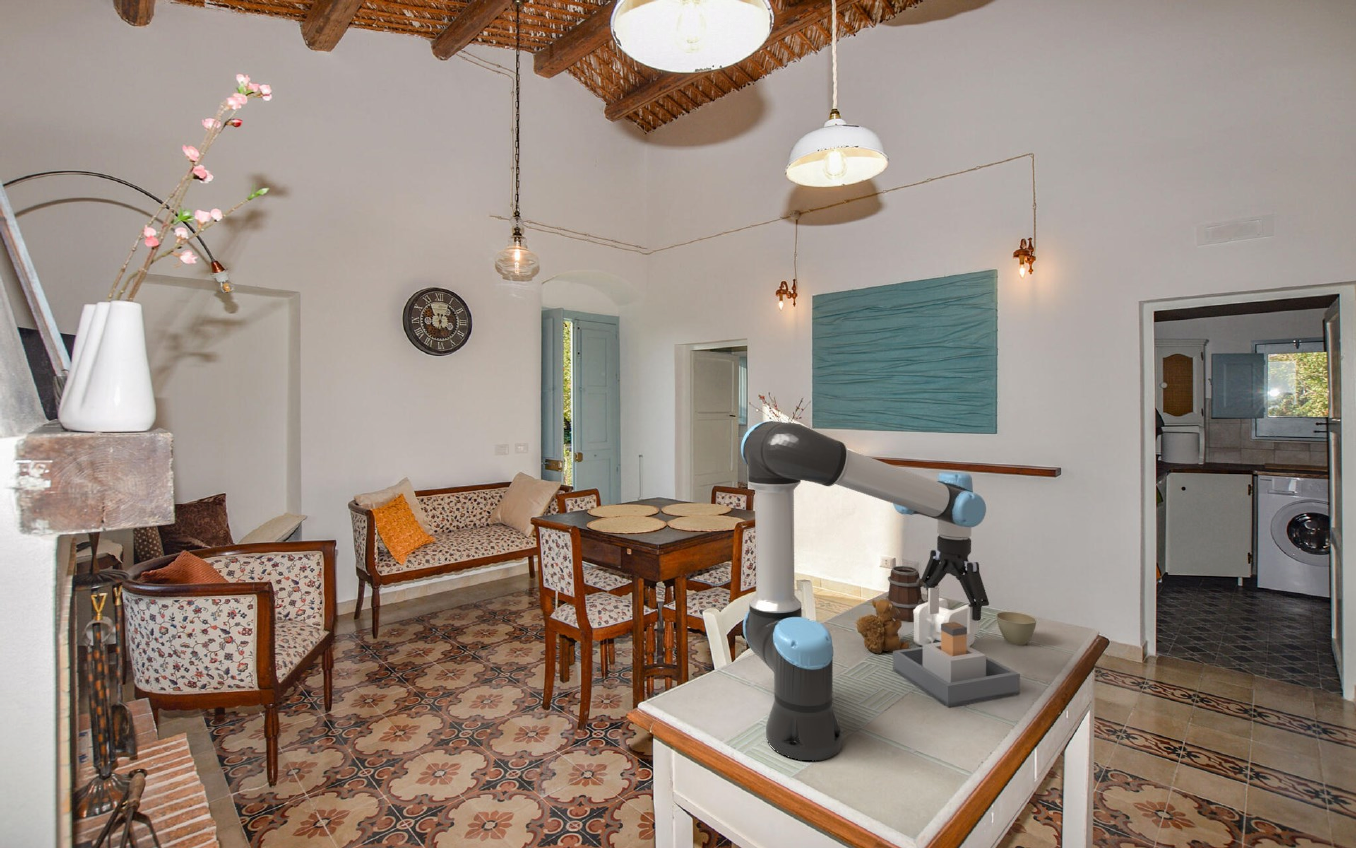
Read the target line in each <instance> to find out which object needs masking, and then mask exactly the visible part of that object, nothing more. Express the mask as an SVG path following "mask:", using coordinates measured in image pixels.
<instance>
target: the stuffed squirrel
mask: <svg viewBox="0 0 1356 848" xmlns="http://www.w3.org/2000/svg"><path fill="white" fill-rule="evenodd" d="M870 603H871V605H872V607H873V608H874V609H875V615H874V614H872V613H871V614H867V615H866V616H865V615H864V616H860V617H859V618H858V619H857V620H855V621H854V624H856V626H855V628H856V629H857V632H858V633H859V634H861V636H862V637H863V639H864V640H863V644H864V646H865V649H867V650H869V651H870V652H872V653H875V654H878V655H879V654H881V653H882V652H891V653H893V651H897V650H904V649H911V645H910V643H909V642H907V641H900V635H899V633H898V632H899V630H900V629H901V628H902V623H903V621H901V620H899V619H897V620H895V619H893V616H894V613H895V610H896V609H897V608H896V607H894V605H893V603H892V602H891V601H889V600H887V599H886V598H882V599H879V600H877V601H876V600H875V599H871V601H870ZM896 612H897V610H896ZM898 612H899V611H898ZM899 613H900V612H899ZM897 614H898V613H897Z"/></svg>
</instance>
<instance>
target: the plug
mask: <svg viewBox="0 0 1356 848" xmlns="http://www.w3.org/2000/svg"><path fill="white" fill-rule="evenodd" d="M940 642H941V650H942V651H944V652H945V653H947V654H949V655H951V656H957V655H964V654H967V627H965V626H963V625H961V624H958V623H956V622H949V623H942V624H941V641H940Z"/></svg>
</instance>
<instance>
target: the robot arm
mask: <svg viewBox="0 0 1356 848" xmlns="http://www.w3.org/2000/svg"><path fill="white" fill-rule="evenodd" d="M740 453H741V457H742V459H743V462H744V463H745V464H746V466H747V482H748V484H749V485H750V486H751V487H752V488H753V489H754V493H755V494H754V509H755V510H754V511H755V515H754V516H755V517H754V518H755V519H754V520H755V521H754V522H755V528H754V529H755V532H754V533H755V595H754V596H753V597H752V598H750V600H749V603H748V605H749V607H748V611H747V612H746V613H745V615H744V618H743V621H742V632H743V636H744V639H745V641H746V642H747V644H748V647H749V648H750V650H751V651H752V652H753V653H754V654H755V655H756V656H757V657H758V658H759V659H760V660H761V661H762V662H764V664H765V665H766V666H767V667H768V668H769V669H770V670H771V671H772V672H773V679H774V682H773V683H774V688H773V689H774V695H773V696H774V701H773V704H772V706H771V710H770V712H769V716H768V719H767V721H766V726H765V739H766V738H767V740H768V742H769V743H770V745H771V746H772V747H773V748H774V749H775V750H776V751H778V752H779V753H781V754H782V756H783V755H786V756H789V757H791V758H790V759H792V758H795V759H794V760H796V759H798V760H797V761H802V760H812V761H811V762H817V761H816V760H819V761H824V760H828V759H830V758H832V757H834V756H836V755H837V754H838V753H839V752H840V751H841V749H842V746H843V745H842V743H843V742H842V741H843V739H842V734H843V733H842V729H841V727H840V723H839V721H838V718H837V715H836V712H835V709H834V705H833V695H834V693H833V692H834V691H833V687H834V686H833V685H834V684H833V683H834V682H833V680H834V679H833V675H834V674H833V673H834V671H833V667H834V665H833V659H834V658H833V657H834V647H833V639H832V635H831V633H830V631H829V630H828V628H827V627H826V626H825V625H824V624H822V623H820V622H819V621H816V620H810V618H807V617H803V616H802V602H801V600H799V598H798V597H797V596H796V595H795V492H794V491H795V490H796V488H797V487H798V486H799V485H800V484H801V482H802V481H804V482H805V481H806V482H810V483H815V484H819V485H822V486H824V487H832V486H834V485H837V486H840V487H843V488H846V489H849V490H852V491H855V492H858V493H861V494H864V495H866V496H868V497H869V496H870V497H873V498H875V499H879V500H882V501H885V502H888V503H890V504H892V505H893V507H894V509H895V510H896V512H898V513H899V514H901V515H910V516H913V515H919V516H920V515H921V516H924V517H928V518H932V519H935V520H937V529H936V530H937V532H936V533H937V534H938V536H937V537H936V539H937V541H936V543H937V544H936V549H932V550H930V553H929V560H928V562H927V564H926V567H925V569H924V571H923V574H922V577H921V578H920V579H921V581H922V583H925V584H926V586H927V590H926V593H927V594H926V597H927V598H926V599H927V600H928V614H939V598H940V587H939V584H940V582H941V581H942V580H943V579H944V578H945V576H946V575H948V574H949V575H951V576H953V577H955V578H956V580H957V581H959V583H960V585H961V587H962V590H963V592H964V594H965V596H966V598H967V600H968V603H969V604H967V605H968V614H967V633H968V634H974V633H975V634H980V621H981V619H982V607H987V606H989V604H990V601H989V599H988V596H987V592H986V590H985V586H984V583H983V580H982V576H981V574H980V573H981V572H980V564H979V562H977V561H972V562H971V561H969V556H970V554H971V553H972V539H971V538H970V537H971V536H972V528H975V527H976V526H978V525H980V524H981V523H982V522H983V520H984V519H985V516H986V514H987V506H986V505H987V504H986V501H985V500H984V498H983V497H982V496H981V495H979V494H977V493H975V492H974V491H973V479H972V476H971V475H970V473H966V472H957V471H956V472H955V471H944V472H943V471H942V472H940V473H939V474H938V479H937V480H934V479H931V478H928V477H925V476H923V475H920V474H917V473H914V472H911V471H908V470H906V469H903V468H900V467H898V466H895V465H892V464H889V463H886V462H883V461H881V460H878V459H875V458H873V457H870V456H867V455H864V454H861V453H859V452H856V451H853V450H851V449H848V447H847V445H846V444H845V443H844V442H843V441H839V440H837V439H834V438H832V437H830V436H827V435H824V434H822V433H821V432H819V431H816V430H814V429H812V428H809V427H808V426H805V425H802V424H800V423H799V424H798V423H796V422H783V421H775V420H770V421H769V420H768V421H762V422H759V423H757V424H754V425H753V426H751V427H750V428H749V429H748V430H747V431H746V433H745V434H744V435H743V438H742V441H741V445H740ZM767 740H766V741H767ZM768 742H767V743H768ZM770 745H769V746H770ZM774 749H773V750H774ZM775 750H774V751H775ZM776 751H775V752H776ZM778 752H777V753H778ZM779 753H778V754H779ZM781 754H780V755H781ZM786 756H785V757H786ZM789 757H788V758H789ZM814 760H815V761H814Z"/></svg>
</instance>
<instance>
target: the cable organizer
mask: <svg viewBox="0 0 1356 848" xmlns="http://www.w3.org/2000/svg"><path fill="white" fill-rule="evenodd" d="M968 605H969V604H965V605H962V606H959V607H958V608H955V609H953V610H952V609H949V607H948V606H949V605H948V600H947V599H945V598H942V597H939V614H928V602H926V603H923V604H921V605H918V606H917V607H916V608H915V610H913V614H914V621H913V642H914V644H917V645H919V646H921V647H923V644H930V643H934V641H938V642H941V624H942V623H949V622H956V623H958V624H961V625H963V626H965V627H967V614H968ZM975 640H976V633H974V634H968V633H967V646H969V647H971V645H973V644H974V642H975Z"/></svg>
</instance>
